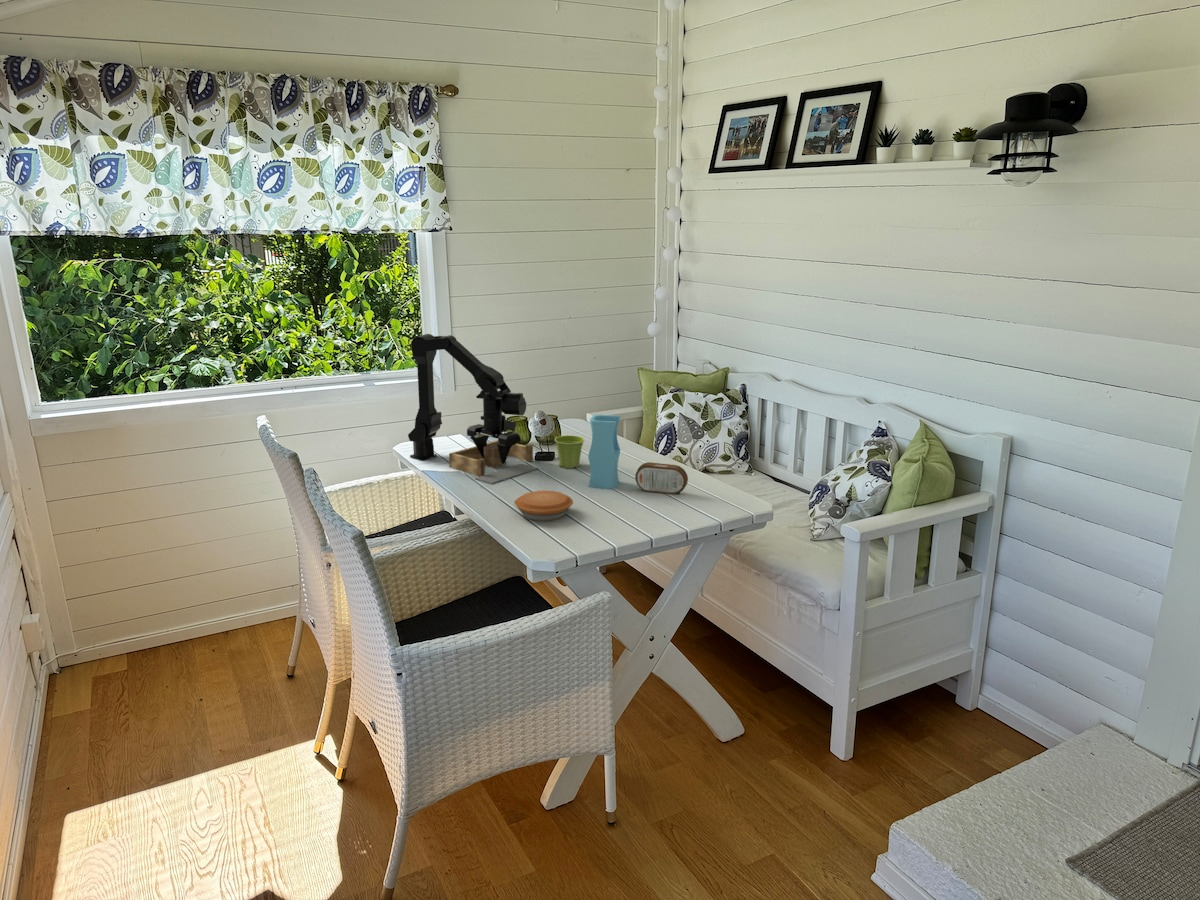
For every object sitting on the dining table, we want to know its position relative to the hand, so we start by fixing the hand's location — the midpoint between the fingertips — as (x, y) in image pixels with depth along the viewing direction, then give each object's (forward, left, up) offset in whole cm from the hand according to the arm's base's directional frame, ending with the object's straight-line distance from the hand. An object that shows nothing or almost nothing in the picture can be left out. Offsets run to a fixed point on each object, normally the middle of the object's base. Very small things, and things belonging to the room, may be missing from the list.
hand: (494, 460), depth 277 cm
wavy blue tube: (+39, +8, -2) cm, 39 cm away
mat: (+10, -4, -1) cm, 11 cm away
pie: (+43, -22, -2) cm, 48 cm away
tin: (+56, +13, -2) cm, 57 cm away
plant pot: (+19, +15, -2) cm, 24 cm away
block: (0, 0, -1) cm, 1 cm away
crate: (-1, 0, -1) cm, 2 cm away
